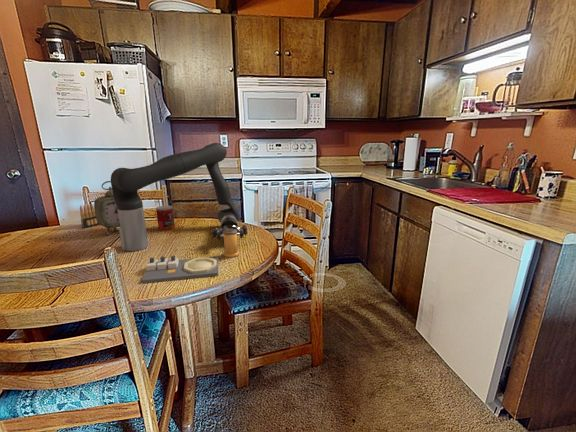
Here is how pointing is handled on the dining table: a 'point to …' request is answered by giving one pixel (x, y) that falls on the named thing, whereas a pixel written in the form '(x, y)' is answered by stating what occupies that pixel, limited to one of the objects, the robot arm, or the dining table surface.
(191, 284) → the dining table surface
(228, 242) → the cap
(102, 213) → the tabletop clock
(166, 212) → the canned food
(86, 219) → the ammunition clip
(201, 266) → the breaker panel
